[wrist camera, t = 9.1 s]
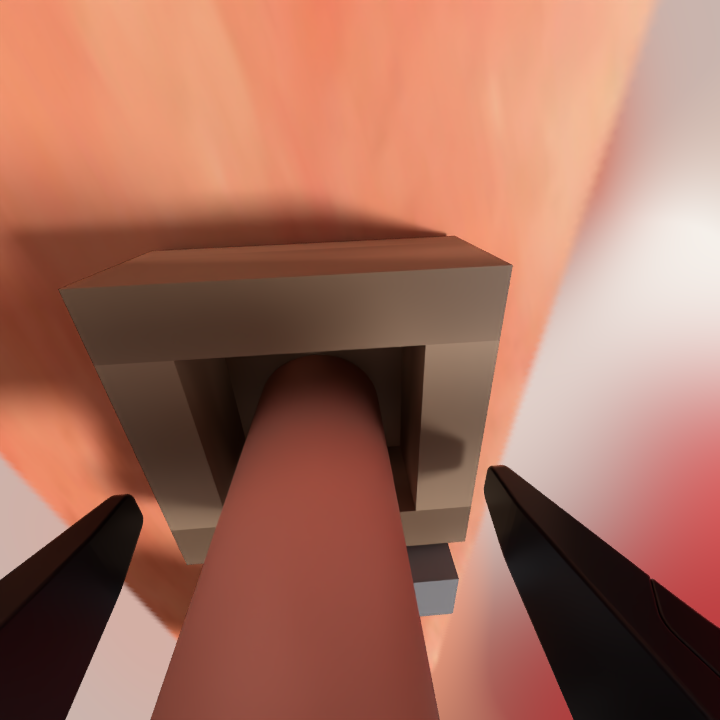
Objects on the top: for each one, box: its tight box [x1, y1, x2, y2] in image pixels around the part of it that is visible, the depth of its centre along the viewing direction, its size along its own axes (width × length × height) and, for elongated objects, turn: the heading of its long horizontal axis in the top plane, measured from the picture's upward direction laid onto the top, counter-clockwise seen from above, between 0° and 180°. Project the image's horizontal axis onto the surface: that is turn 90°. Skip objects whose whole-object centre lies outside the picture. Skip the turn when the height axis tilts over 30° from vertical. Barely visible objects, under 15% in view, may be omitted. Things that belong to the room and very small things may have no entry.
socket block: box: [58, 236, 513, 565], centre depth 11 cm, size 9×9×4 cm
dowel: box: [151, 355, 440, 720], centre depth 8 cm, size 4×4×9 cm
